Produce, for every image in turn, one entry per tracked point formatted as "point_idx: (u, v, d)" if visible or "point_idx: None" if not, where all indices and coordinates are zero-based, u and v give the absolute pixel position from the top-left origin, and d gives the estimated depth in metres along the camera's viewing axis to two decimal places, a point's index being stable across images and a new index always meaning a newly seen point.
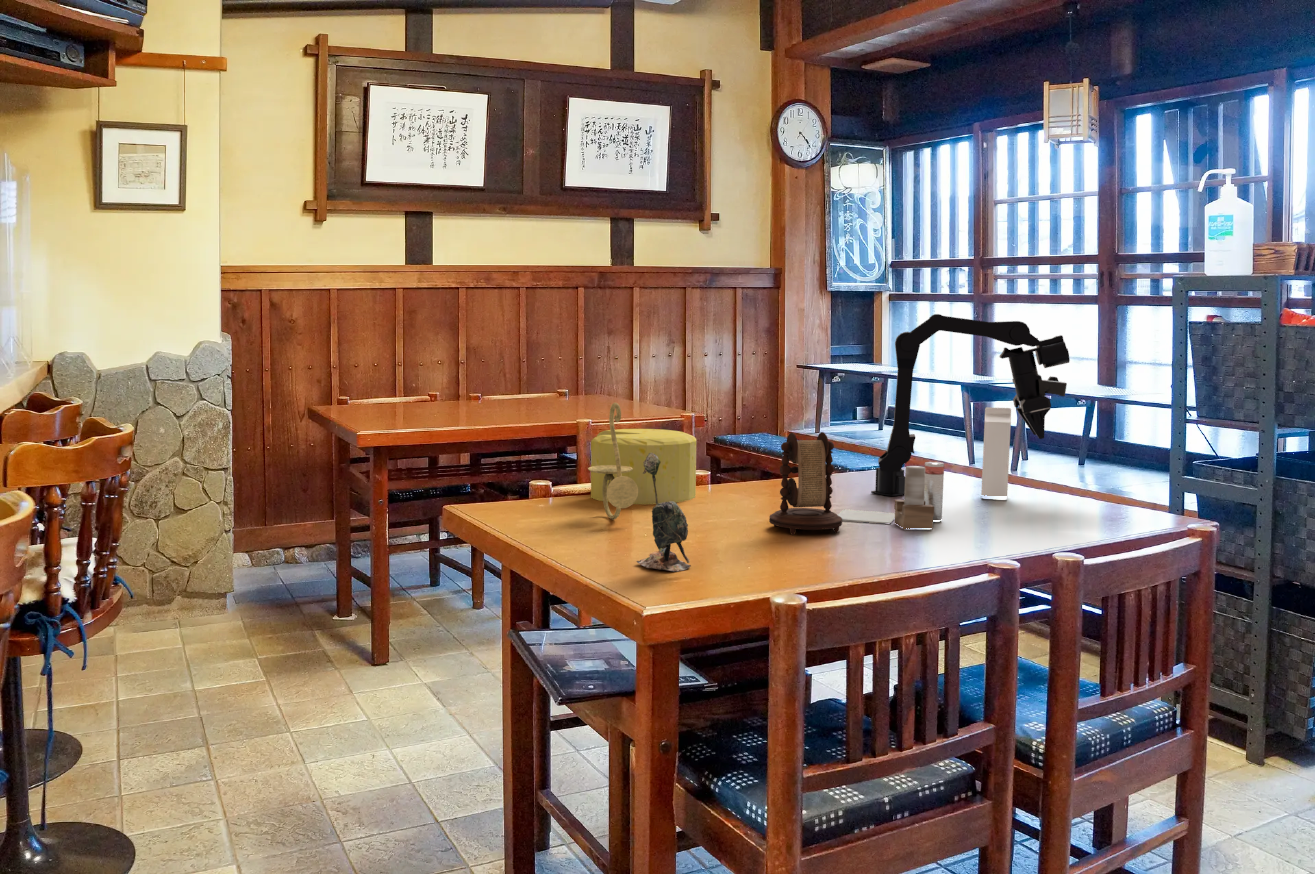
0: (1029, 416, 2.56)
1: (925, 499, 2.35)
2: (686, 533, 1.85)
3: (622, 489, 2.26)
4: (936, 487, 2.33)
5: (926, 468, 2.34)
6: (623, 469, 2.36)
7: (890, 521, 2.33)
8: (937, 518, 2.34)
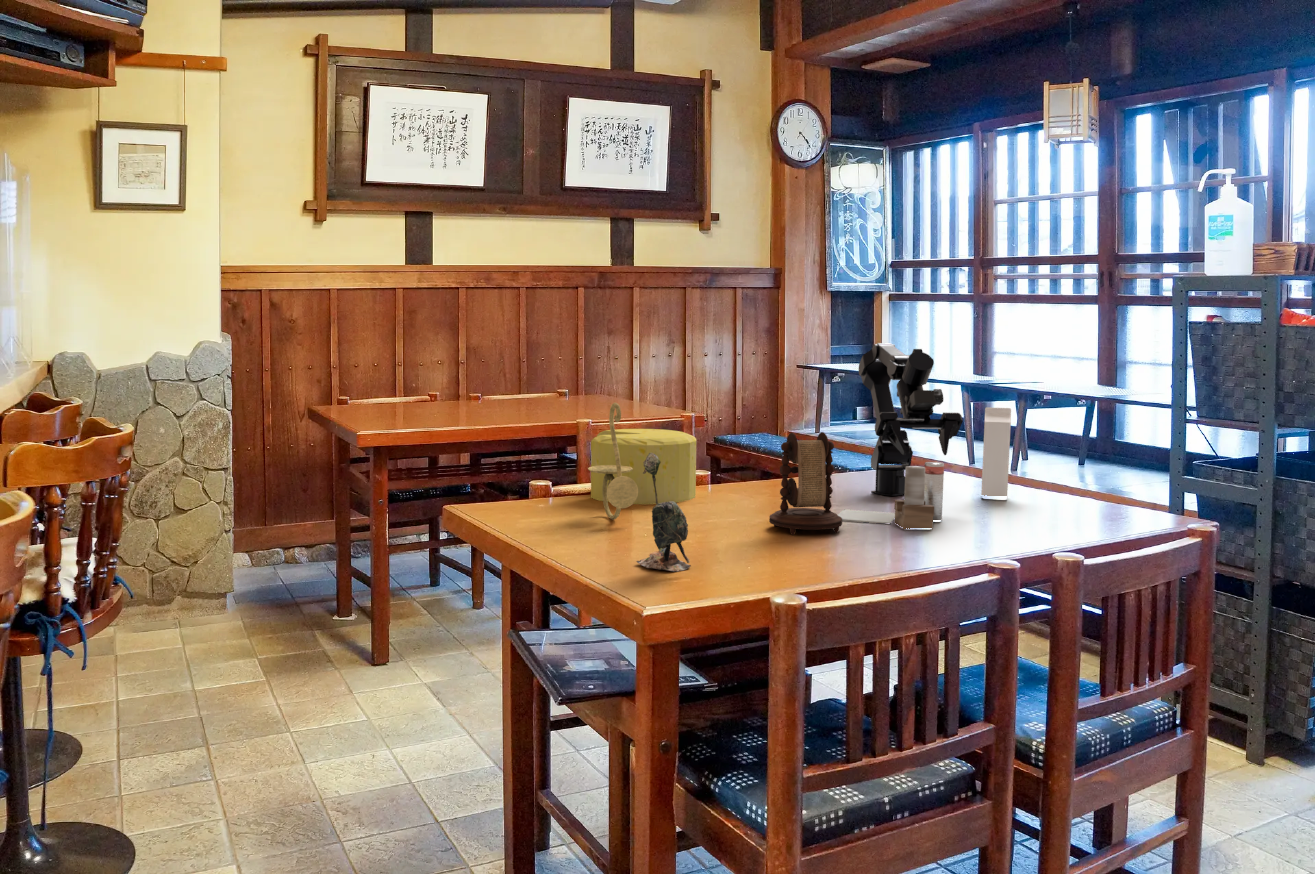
0: (889, 437, 2.47)
1: (925, 499, 2.35)
2: (686, 533, 1.85)
3: (622, 489, 2.26)
4: (936, 487, 2.33)
5: (926, 468, 2.34)
6: (623, 469, 2.36)
7: (890, 521, 2.33)
8: (937, 518, 2.34)
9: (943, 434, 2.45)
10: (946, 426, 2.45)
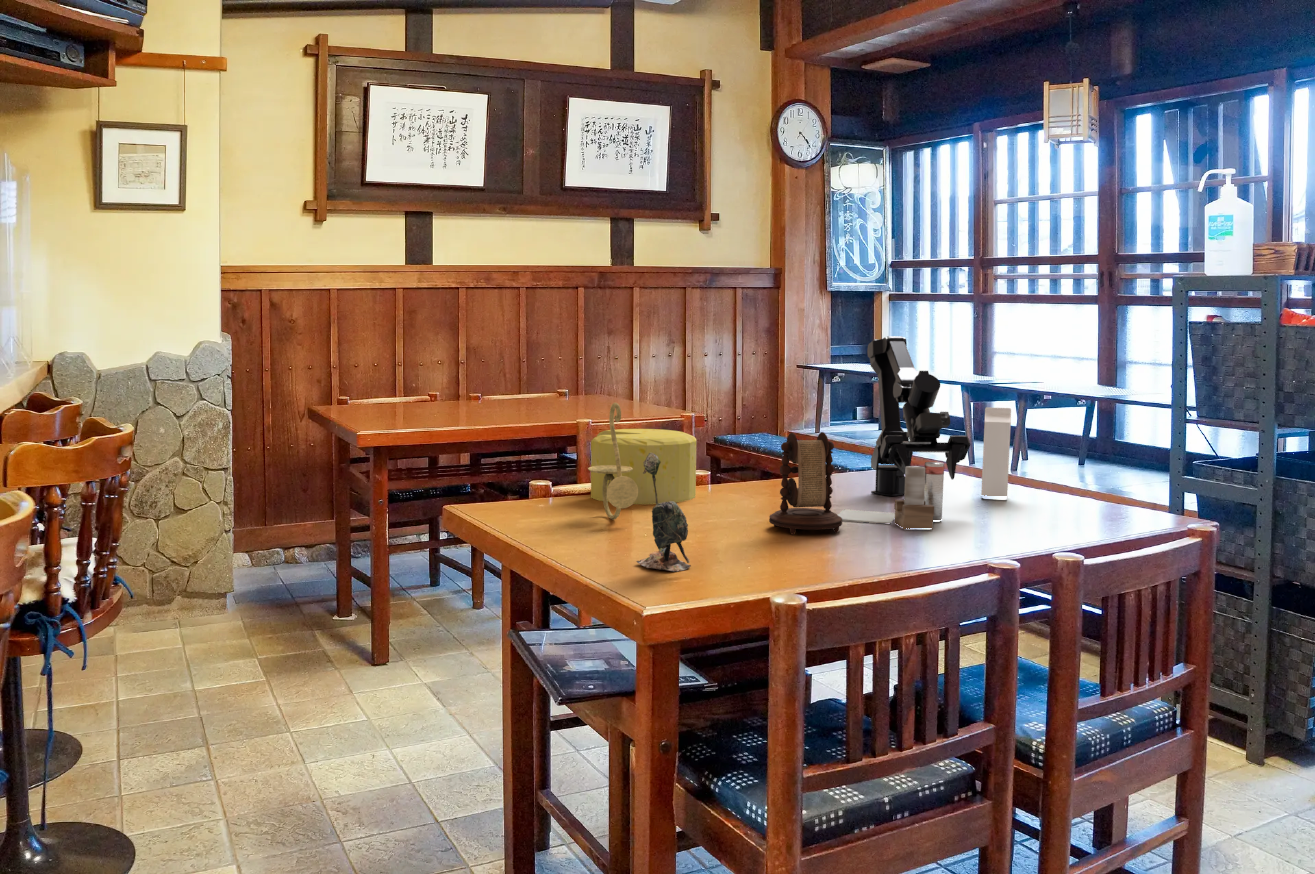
0: (895, 461, 2.41)
1: (925, 499, 2.35)
2: (686, 533, 1.86)
3: (622, 489, 2.26)
4: (936, 487, 2.33)
5: (926, 468, 2.34)
6: (623, 469, 2.36)
7: (890, 521, 2.33)
8: (937, 518, 2.34)
9: (950, 458, 2.39)
10: (953, 450, 2.39)
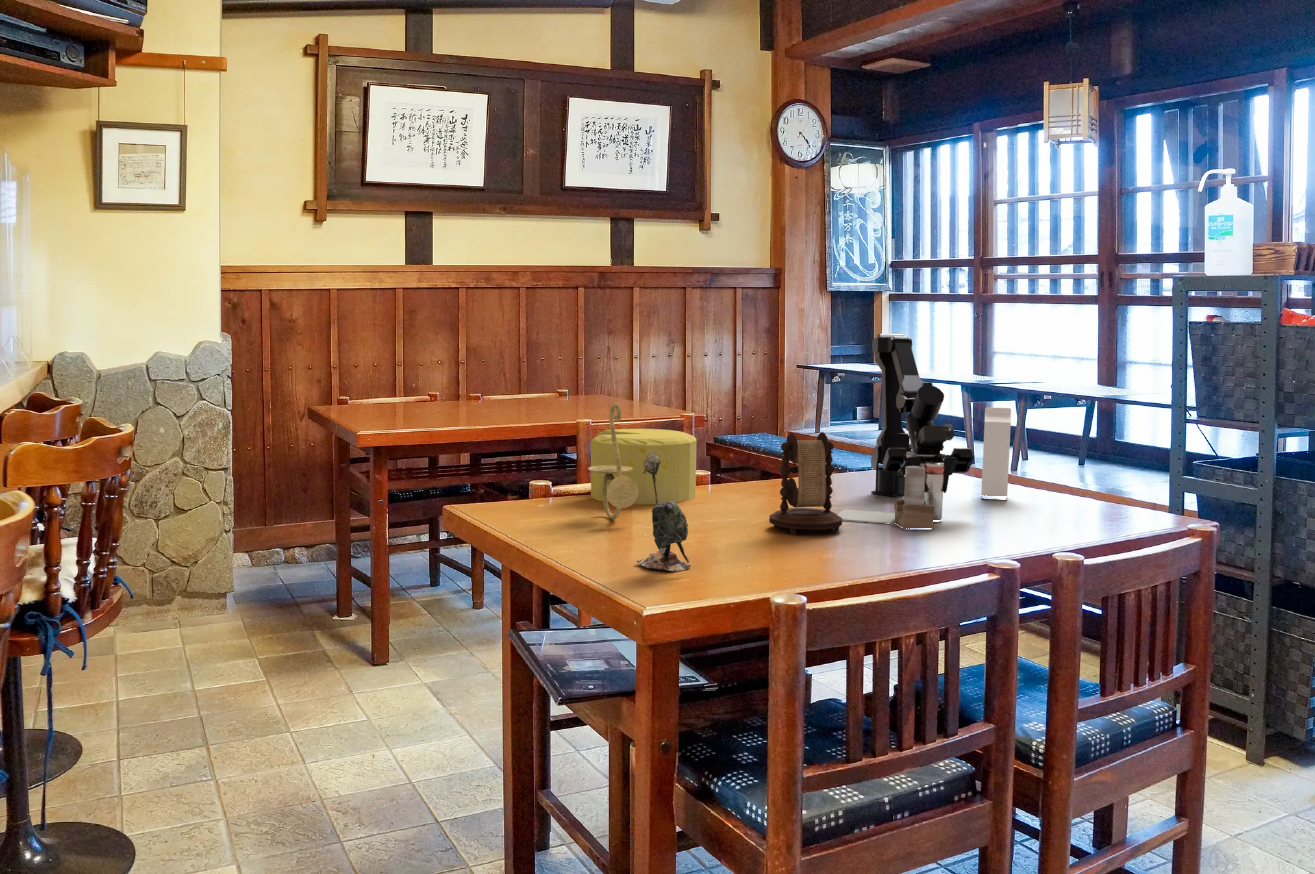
0: None
1: (925, 499, 2.35)
2: (686, 533, 1.85)
3: (622, 489, 2.26)
4: (936, 487, 2.33)
5: (926, 468, 2.34)
6: (623, 469, 2.36)
7: (890, 521, 2.33)
8: (937, 518, 2.34)
9: None
10: (946, 462, 2.36)
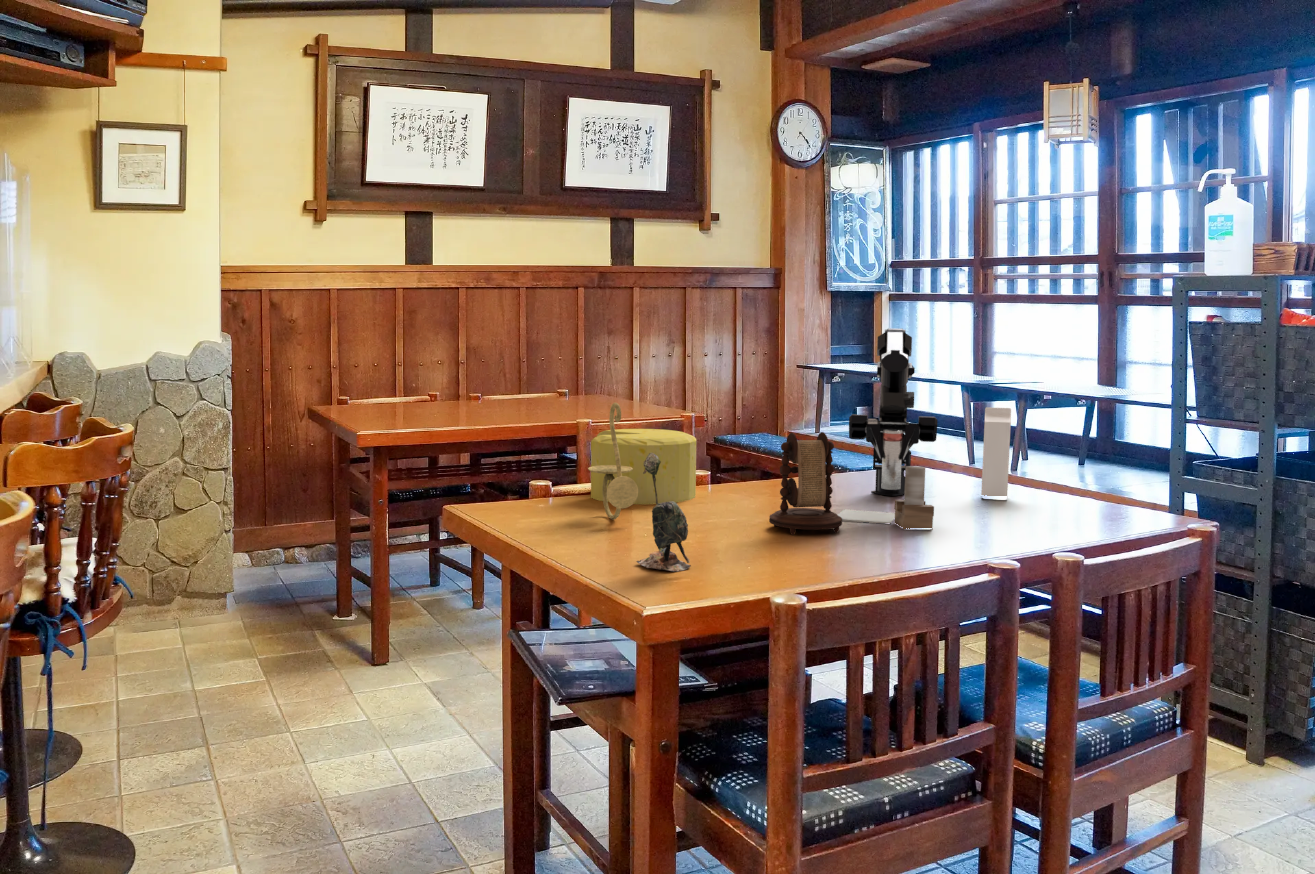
0: (872, 441, 2.40)
1: (882, 466, 2.36)
2: (686, 534, 1.85)
3: (622, 489, 2.26)
4: (892, 453, 2.34)
5: (883, 435, 2.35)
6: (623, 469, 2.36)
7: (890, 521, 2.33)
8: (893, 485, 2.34)
9: (904, 438, 2.36)
10: (906, 430, 2.36)
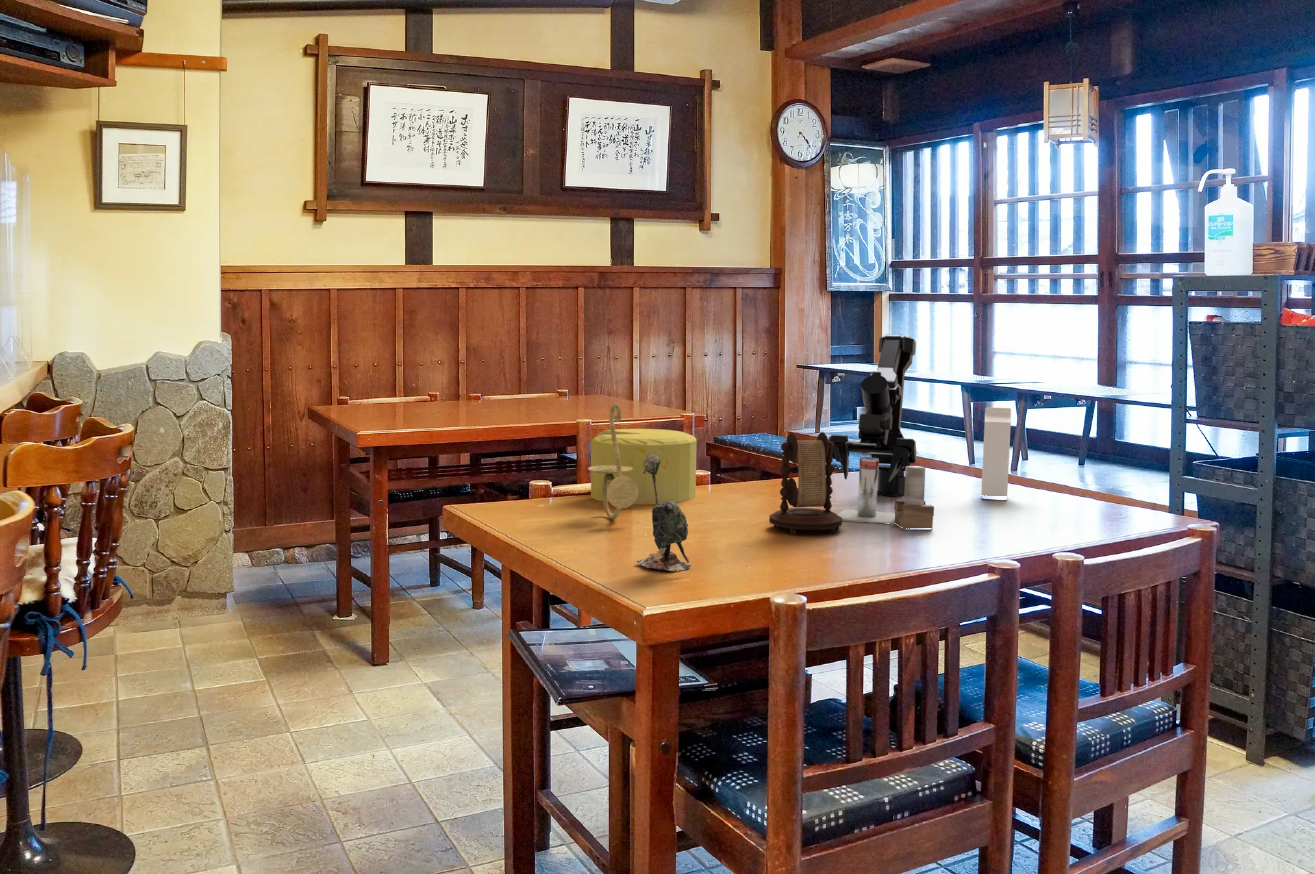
0: (841, 461, 2.44)
1: (858, 493, 2.38)
2: (686, 533, 1.85)
3: (622, 489, 2.26)
4: (866, 481, 2.36)
5: (860, 462, 2.38)
6: (623, 469, 2.36)
7: (890, 521, 2.33)
8: (867, 512, 2.37)
9: None
10: (894, 452, 2.37)
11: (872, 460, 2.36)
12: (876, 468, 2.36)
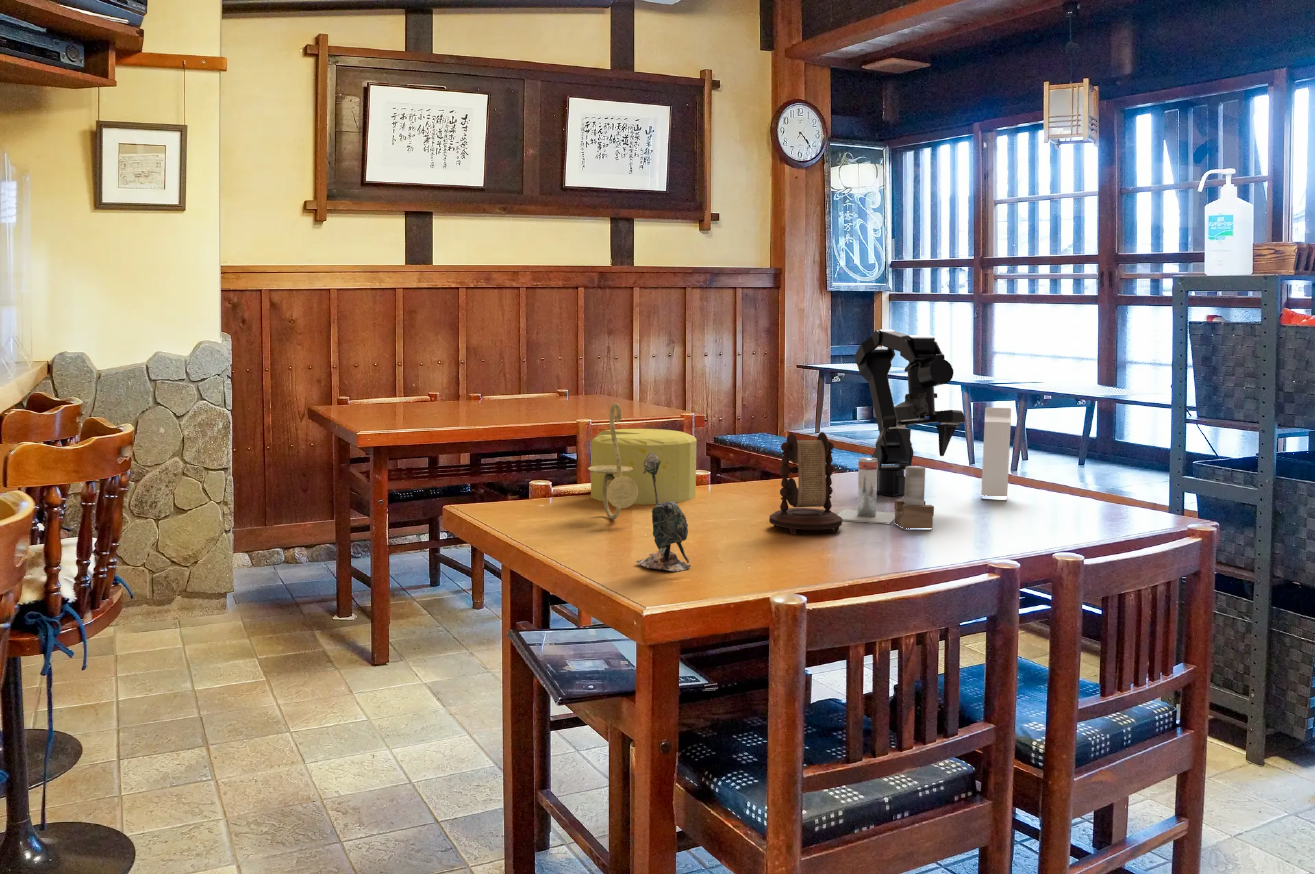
0: None
1: (858, 493, 2.38)
2: (686, 534, 1.85)
3: (622, 489, 2.26)
4: (866, 481, 2.36)
5: (858, 463, 2.38)
6: (623, 469, 2.36)
7: (890, 521, 2.33)
8: (867, 513, 2.37)
9: None
10: (938, 429, 2.47)
11: (871, 461, 2.36)
12: (875, 468, 2.36)
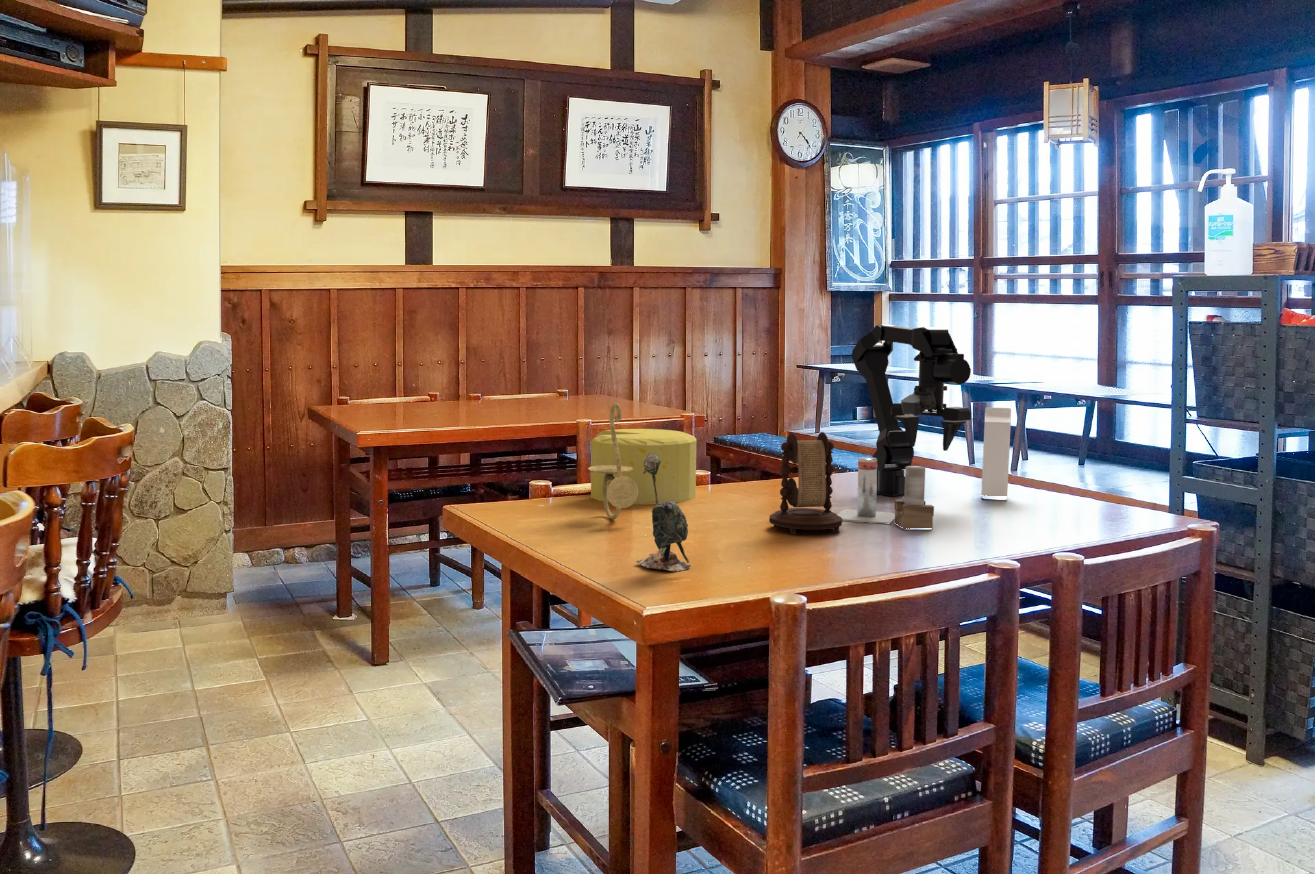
0: None
1: None
2: (686, 533, 1.86)
3: (622, 489, 2.26)
4: (865, 482, 2.36)
5: (858, 463, 2.37)
6: (623, 469, 2.36)
7: (890, 521, 2.33)
8: (867, 513, 2.37)
9: None
10: (943, 425, 2.50)
11: (870, 460, 2.35)
12: (875, 468, 2.36)
